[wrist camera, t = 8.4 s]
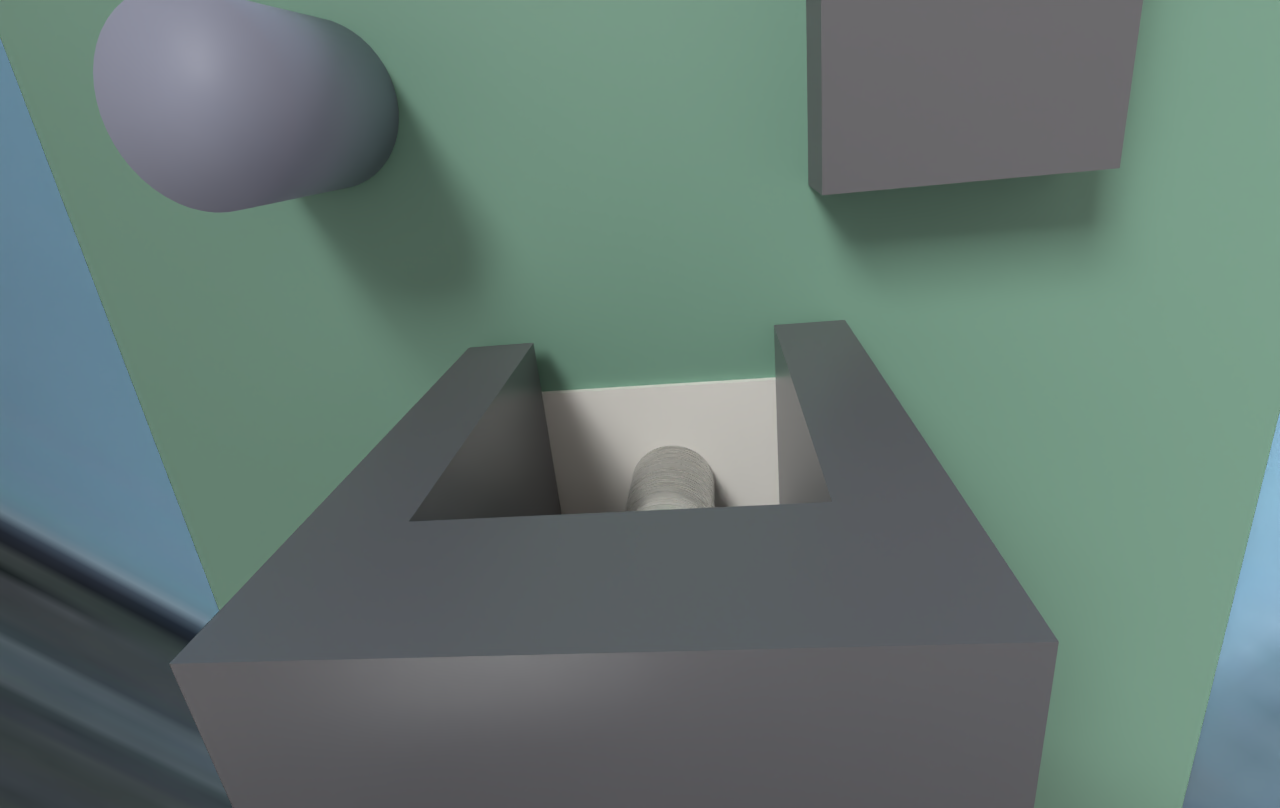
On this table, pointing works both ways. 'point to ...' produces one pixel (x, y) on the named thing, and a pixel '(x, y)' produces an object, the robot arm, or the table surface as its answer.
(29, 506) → the table surface
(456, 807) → the block
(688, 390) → the board
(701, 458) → the pins
